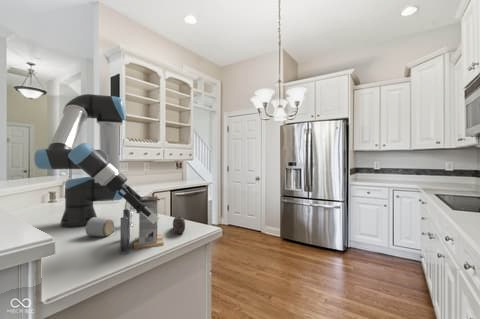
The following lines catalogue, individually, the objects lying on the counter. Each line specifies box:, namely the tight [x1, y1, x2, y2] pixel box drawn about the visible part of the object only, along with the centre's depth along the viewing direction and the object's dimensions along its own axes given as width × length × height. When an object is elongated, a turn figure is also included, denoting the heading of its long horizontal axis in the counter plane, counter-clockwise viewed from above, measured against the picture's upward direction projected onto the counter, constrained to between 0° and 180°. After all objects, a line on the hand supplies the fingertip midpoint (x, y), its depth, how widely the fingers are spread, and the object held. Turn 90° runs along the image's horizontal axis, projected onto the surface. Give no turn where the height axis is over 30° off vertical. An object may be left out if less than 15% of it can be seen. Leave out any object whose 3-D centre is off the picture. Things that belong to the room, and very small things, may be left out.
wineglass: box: [124, 200, 137, 228], centre depth 112 cm, size 6×6×12 cm
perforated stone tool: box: [172, 215, 186, 235], centre depth 104 cm, size 15×5×7 cm, turn 15°
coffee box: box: [138, 196, 159, 244], centre depth 89 cm, size 9×6×16 cm
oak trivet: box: [133, 234, 165, 250], centre depth 89 cm, size 10×10×1 cm
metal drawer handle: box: [119, 208, 131, 256], centre depth 85 cm, size 17×2×12 cm, turn 24°
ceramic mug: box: [85, 216, 116, 238], centre depth 98 cm, size 11×8×8 cm
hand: (155, 216), depth 90 cm, fingers open, 13 cm apart
